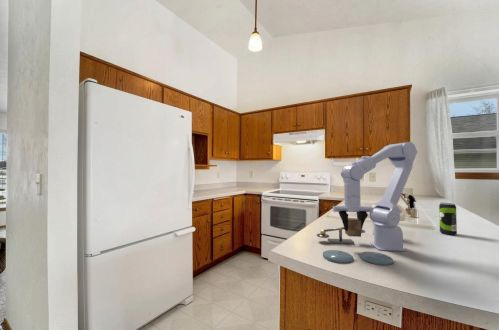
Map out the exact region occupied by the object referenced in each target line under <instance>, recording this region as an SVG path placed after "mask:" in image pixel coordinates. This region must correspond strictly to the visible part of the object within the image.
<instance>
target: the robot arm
mask: <svg viewBox="0 0 499 330" xmlns="http://www.w3.org/2000/svg"><path fill="white" fill-rule="evenodd" d="M417 154H418V151H417V147H416V145H415V144H414V143H413V142H412V141H407V142H406V141H405V142H400V143H394V144H392V143H391V144H388V145H385V146H383V148H381V149H380V150H379V151H378V152H375V153H374V154H373V155H370V156H369V155H363V156H361V157H360V159H359V160H356V161H353V162H351V164H350V165H345V166H344V167H343V168H342V170H341V172H340V175H341V177H342V179H343V180H342V182H343V184H344V185H343V186H344V187H343V191H344V192H343V193H344V194H343V195H344V198H343V199H344V205H333V206H332V211H333V212H335V213H336V212H337V213H338V215H339V217H340V218H341V222H342V224H343V227H344V229H343V230H344V232H345V231H348V218H349V213H356V218H357V219H358V220H360V221H361V231H362V230H363V226H364V224H365V222H366V219H367V218H368V215H369V218H370V220H371V221H372V225H373V224H374V234H373V236H374V237H373V239H374V241H372V242H370V245H371V246H373V247H374V248H376V249H377V250H378V251H392V252H393V251H397V252H405V249H404V234H403V230H402V228H401V226H399V223H400V221H401V220H400V219H401V213H402V211H401V209H400V208H399V206H398V203H399V201H400V198H401V196H402V194H403V191H404V189H405V187H406V184H407V182H408V179H409V177H410V174H411V171H412V169H413V164H414V161H415V159H416V156H417ZM386 159H388V160H389V161H390V163H391V164H392V165H393V166H394V167H395V168H394V170H393V173H392V175H391V177H390V181H389V183H388V184H387V186H386V189H385V192H384V194H383V196H382V199H381V200H379V201H377V202H376V203H375V204H374V205H375V206H374V207H373V208H372V206H364V205H361V180H362V179H363V178H364V175H365V174H368V173H369V172H370V171H372V170H374V169H375V168H376V166H377V164H379V163H380V162H382V161H383V160H386ZM348 212H349V213H348ZM368 213H369V214H368Z"/></svg>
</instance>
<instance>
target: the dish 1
mask: <svg viewBox="0 0 499 330" xmlns="http://www.w3.org/2000/svg"><path fill="white" fill-rule="evenodd" d="M322 256H323V257H322V258H324V259H325V260H327V261H330V262H332V263H336V264H337V263H338V264H351V263H352V262H353V261H354V257H353V255H352V254H350V253H348V252H346V251H343V250H338V249H337V250H336V249H328V250H324V251H323V252H322Z"/></svg>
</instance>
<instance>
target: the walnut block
mask: <svg viewBox="0 0 499 330" xmlns="http://www.w3.org/2000/svg"><path fill="white" fill-rule="evenodd" d="M344 233H345V235H347V237H354V238H355V237H356V238H358V237H359V238H360V237H362V233H361V221H360V220H358V219H357V217H356V218H355V217H348V231H345V230H344Z"/></svg>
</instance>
